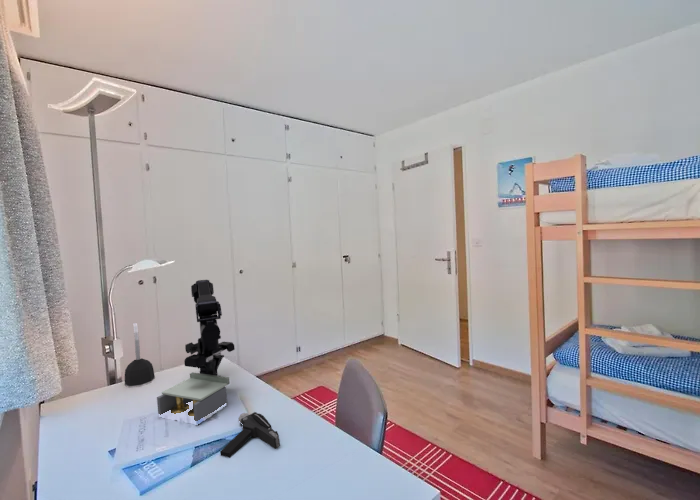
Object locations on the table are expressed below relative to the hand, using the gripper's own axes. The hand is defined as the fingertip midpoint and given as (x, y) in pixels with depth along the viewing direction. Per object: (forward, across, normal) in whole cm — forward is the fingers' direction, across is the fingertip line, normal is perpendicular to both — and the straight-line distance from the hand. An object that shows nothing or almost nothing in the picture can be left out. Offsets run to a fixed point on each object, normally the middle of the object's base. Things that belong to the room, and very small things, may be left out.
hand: (212, 377), depth 126 cm
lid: (+1, +7, 0) cm, 8 cm away
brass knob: (+8, +11, +4) cm, 14 cm away
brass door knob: (+8, +11, -4) cm, 14 cm away
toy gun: (+9, +17, +27) cm, 33 cm away
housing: (+8, +9, 0) cm, 13 cm away
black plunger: (+9, -4, -44) cm, 45 cm away
